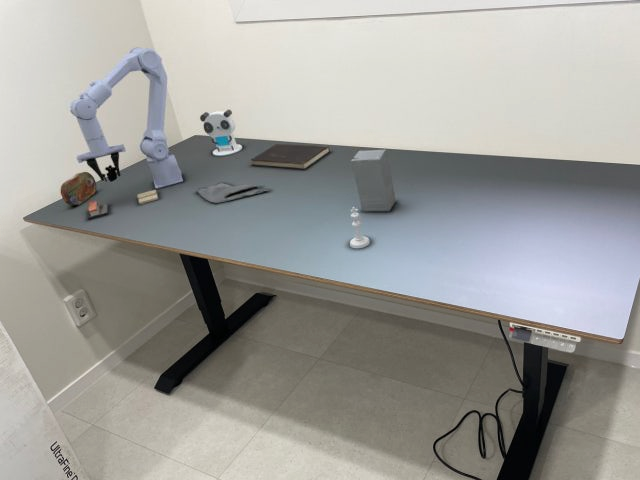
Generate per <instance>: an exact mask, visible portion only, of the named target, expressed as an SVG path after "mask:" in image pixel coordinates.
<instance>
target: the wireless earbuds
mask: <svg viewBox="0 0 640 480" xmlns="http://www.w3.org/2000/svg"><path fill="white" fill-rule="evenodd" d="M104 170H105V171H106V173H102V177H104V181H105V182H106V183H108V181H109V182H111V183H112V182H114V181H116V180H117V179H118V174H117V171H116V168H115V166H113V165H111V164H109V165H108V166H105V168H104Z"/></svg>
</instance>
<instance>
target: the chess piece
mask: <svg viewBox="0 0 640 480" xmlns="http://www.w3.org/2000/svg"><path fill="white" fill-rule="evenodd" d="M358 211H359V209H358V208H355V206H352V209H350V213H351V214H350V218H351V219H352V221H353V222H352V223H351V225H352V226H353V227H354V233H355V235H354V237H353V238H352V239H350V241H349V246H350V248H353V249H362V248H365V247H368V246H369V245H370V239H369V237H367V236H364V235H363V234H362V232H361V231H362V230H361V228H360V225H361V224H362V223H361V221H360V220H359V217H360V213H358Z"/></svg>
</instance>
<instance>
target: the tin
mask: <svg viewBox="0 0 640 480" xmlns="http://www.w3.org/2000/svg"><path fill="white" fill-rule="evenodd" d="M96 191H97V182H96V179H95V177H94V176H93V175H92V174H91V173H90V172H88V171H82V172H78V173H75V174H74V175H73V176H72V177H70V178H68V179H67V180H66V181H64V182H63V183H62V184H61V186H60V195H61V197H62V199H63V202H64V203H65V204H67V205H69V206H80V205H82V204H83V203H84V202H86V201H87V200H88V199H90V198H91V197H92V196H94V195H95V193H96Z"/></svg>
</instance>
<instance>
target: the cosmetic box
mask: <svg viewBox="0 0 640 480" xmlns="http://www.w3.org/2000/svg"><path fill="white" fill-rule="evenodd" d="M387 152H388V151H387V149H372V150H371V149H370V150H369V149H368V150H358V152H356V154H355V155H354V157H353V158H352V159H351V161H350V163H351V166H352V170H353V174H354V179H355V184H356V188H357V193H358V198H359V201H360V206H361V210H362V212H390V211H391V209H392V207H393V206H394V204H395V203H396V201H397V199H396V194H395V189H394V184H393V177H392V173H391V167H390V162H389V156H388V153H387Z"/></svg>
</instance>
